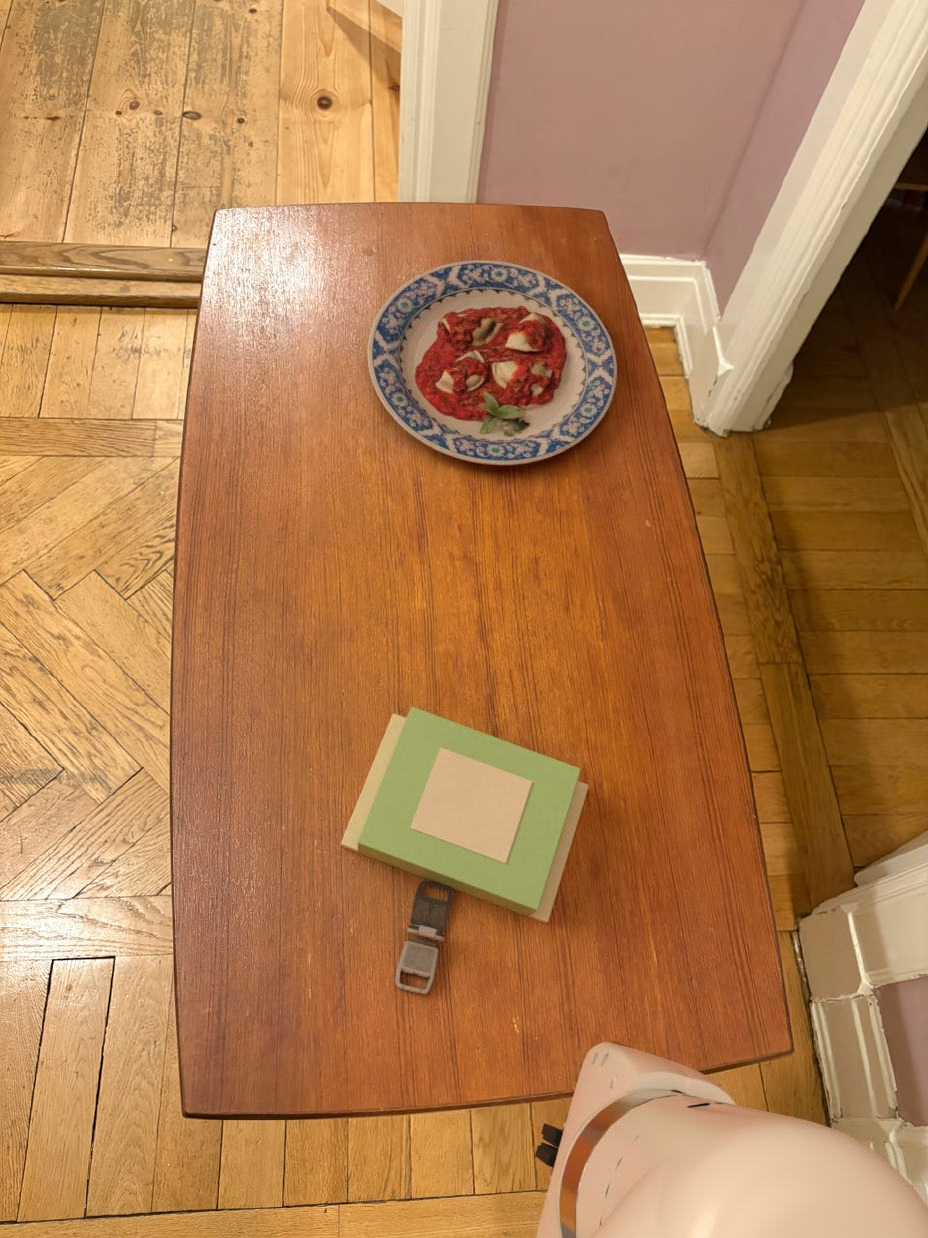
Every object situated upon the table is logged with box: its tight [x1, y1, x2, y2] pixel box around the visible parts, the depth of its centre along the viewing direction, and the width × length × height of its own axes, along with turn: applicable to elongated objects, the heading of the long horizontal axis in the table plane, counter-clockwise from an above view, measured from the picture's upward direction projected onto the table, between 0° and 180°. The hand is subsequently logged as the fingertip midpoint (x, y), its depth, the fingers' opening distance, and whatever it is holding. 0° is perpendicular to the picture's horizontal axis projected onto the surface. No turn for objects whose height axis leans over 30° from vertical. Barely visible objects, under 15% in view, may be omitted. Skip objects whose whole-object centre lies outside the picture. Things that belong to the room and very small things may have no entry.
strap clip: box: [394, 879, 453, 995], centre depth 74 cm, size 8×3×4 cm, turn 167°
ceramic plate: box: [366, 259, 618, 466], centre depth 98 cm, size 26×26×3 cm
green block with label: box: [340, 706, 590, 924], centre depth 78 cm, size 12×18×5 cm, turn 71°
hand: (567, 1150), depth 49 cm, fingers closed
